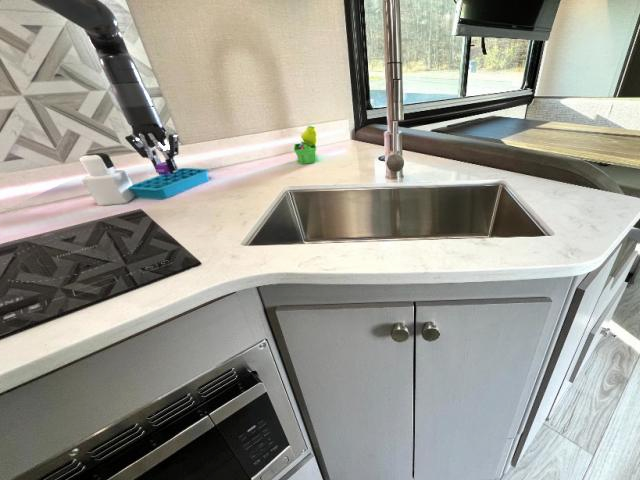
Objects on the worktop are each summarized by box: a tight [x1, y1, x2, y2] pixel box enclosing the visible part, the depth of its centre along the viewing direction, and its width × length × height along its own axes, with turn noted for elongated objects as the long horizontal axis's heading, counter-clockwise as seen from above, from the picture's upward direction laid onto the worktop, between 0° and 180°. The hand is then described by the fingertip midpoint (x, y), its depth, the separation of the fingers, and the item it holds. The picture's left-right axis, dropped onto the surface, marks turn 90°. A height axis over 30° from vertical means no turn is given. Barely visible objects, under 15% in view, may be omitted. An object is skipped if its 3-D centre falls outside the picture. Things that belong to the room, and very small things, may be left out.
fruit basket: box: [293, 125, 318, 165], centre depth 114 cm, size 11×9×11 cm
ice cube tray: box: [128, 167, 210, 200], centre depth 94 cm, size 12×20×3 cm, turn 165°
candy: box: [154, 161, 171, 176], centre depth 92 cm, size 3×7×2 cm, turn 1°
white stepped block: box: [78, 152, 137, 207], centre depth 84 cm, size 7×7×12 cm
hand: (168, 172), depth 92 cm, fingers closed on candy, 3 cm apart
